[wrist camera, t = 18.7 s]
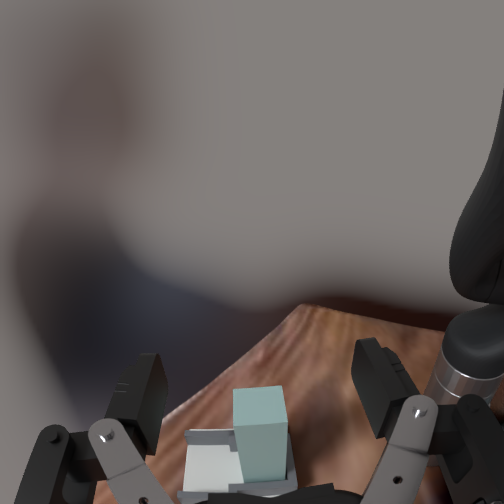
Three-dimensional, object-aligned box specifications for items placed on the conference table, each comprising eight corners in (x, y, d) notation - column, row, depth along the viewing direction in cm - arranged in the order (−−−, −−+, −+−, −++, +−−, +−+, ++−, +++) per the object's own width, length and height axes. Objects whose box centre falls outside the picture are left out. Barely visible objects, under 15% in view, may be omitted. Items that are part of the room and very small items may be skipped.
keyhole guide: (286, 427, 40) (286, 415, 39) (299, 515, 26) (301, 507, 25) (190, 431, 40) (186, 419, 39) (181, 518, 26) (175, 511, 25)
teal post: (280, 452, 35) (281, 385, 30) (284, 482, 31) (287, 421, 26) (243, 455, 35) (233, 389, 30) (244, 485, 31) (233, 425, 26)
